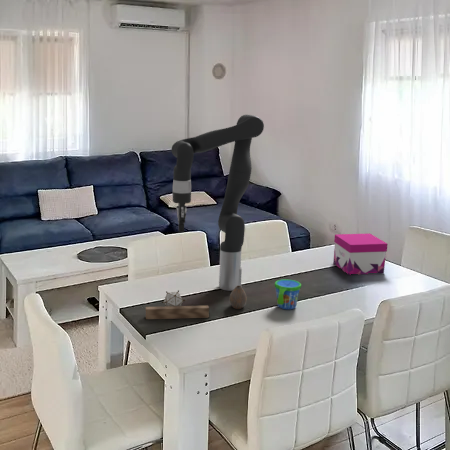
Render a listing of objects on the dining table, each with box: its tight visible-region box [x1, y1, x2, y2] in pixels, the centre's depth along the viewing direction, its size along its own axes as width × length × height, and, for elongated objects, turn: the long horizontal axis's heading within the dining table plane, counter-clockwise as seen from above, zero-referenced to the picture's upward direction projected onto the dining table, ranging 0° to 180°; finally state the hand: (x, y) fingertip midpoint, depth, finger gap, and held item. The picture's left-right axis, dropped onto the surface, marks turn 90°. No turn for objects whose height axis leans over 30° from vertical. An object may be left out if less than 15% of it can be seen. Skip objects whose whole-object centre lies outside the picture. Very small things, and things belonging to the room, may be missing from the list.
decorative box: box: [332, 233, 388, 276], centre depth 302 cm, size 19×19×15 cm
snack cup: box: [274, 278, 302, 310], centre depth 249 cm, size 16×10×10 cm
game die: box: [161, 289, 186, 306], centre depth 242 cm, size 9×8×10 cm
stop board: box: [145, 305, 210, 320], centre depth 236 cm, size 24×2×4 cm, turn 98°
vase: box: [229, 285, 248, 310], centre depth 248 cm, size 7×7×9 cm
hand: (181, 231), depth 255 cm, fingers closed
